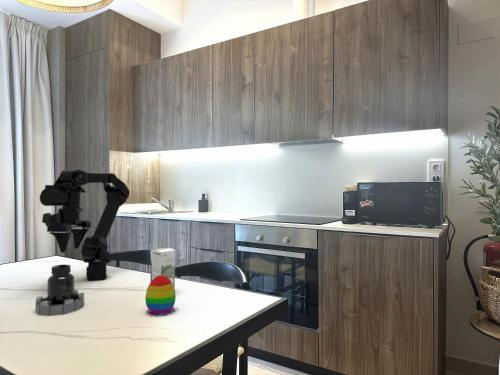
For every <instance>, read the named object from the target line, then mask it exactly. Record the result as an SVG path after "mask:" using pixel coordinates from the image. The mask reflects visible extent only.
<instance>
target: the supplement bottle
mask: <svg viewBox="0 0 500 375" xmlns="http://www.w3.org/2000/svg"><path fill="white" fill-rule="evenodd" d="M71 271H72V270H71V265H70V264H57V265H53V266H52V267H51V275H50V276H49V277H48V279H47V295H46V296H47V301H51V305H56V304H63V300H66V299H70V298H72V299H73V301H74V290H75V276H74V275H73V274H72V273H71Z"/></svg>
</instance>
